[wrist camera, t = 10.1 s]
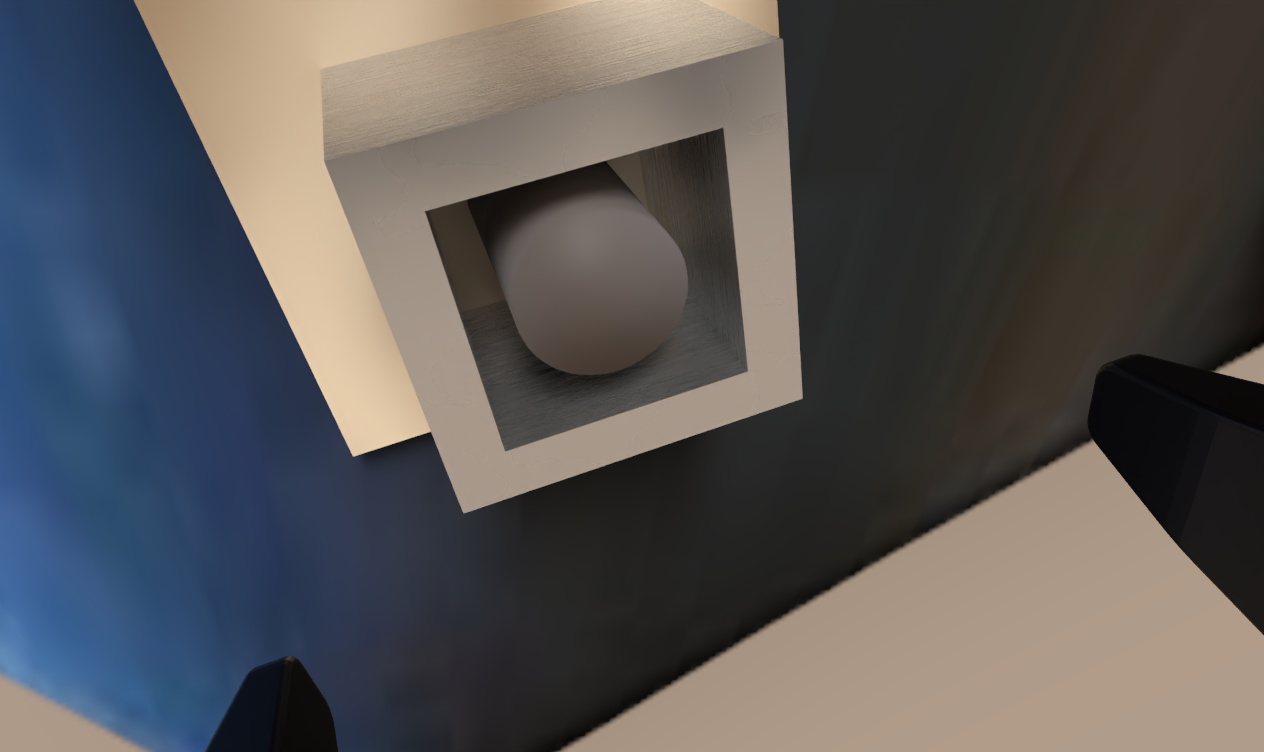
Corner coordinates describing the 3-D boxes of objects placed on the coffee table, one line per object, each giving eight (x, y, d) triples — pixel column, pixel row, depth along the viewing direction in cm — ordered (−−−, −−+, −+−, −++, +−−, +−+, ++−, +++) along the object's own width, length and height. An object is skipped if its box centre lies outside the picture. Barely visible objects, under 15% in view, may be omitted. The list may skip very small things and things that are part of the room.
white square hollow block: (663, -17, 16) (782, 39, 12) (702, 280, 19) (802, 398, 15) (320, 69, 15) (323, 161, 11) (430, 363, 18) (463, 513, 14)
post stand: (744, -160, 16) (933, -151, 11) (777, 295, 22) (910, 430, 17) (137, -23, 14) (47, 58, 9) (351, 431, 20) (364, 624, 15)
